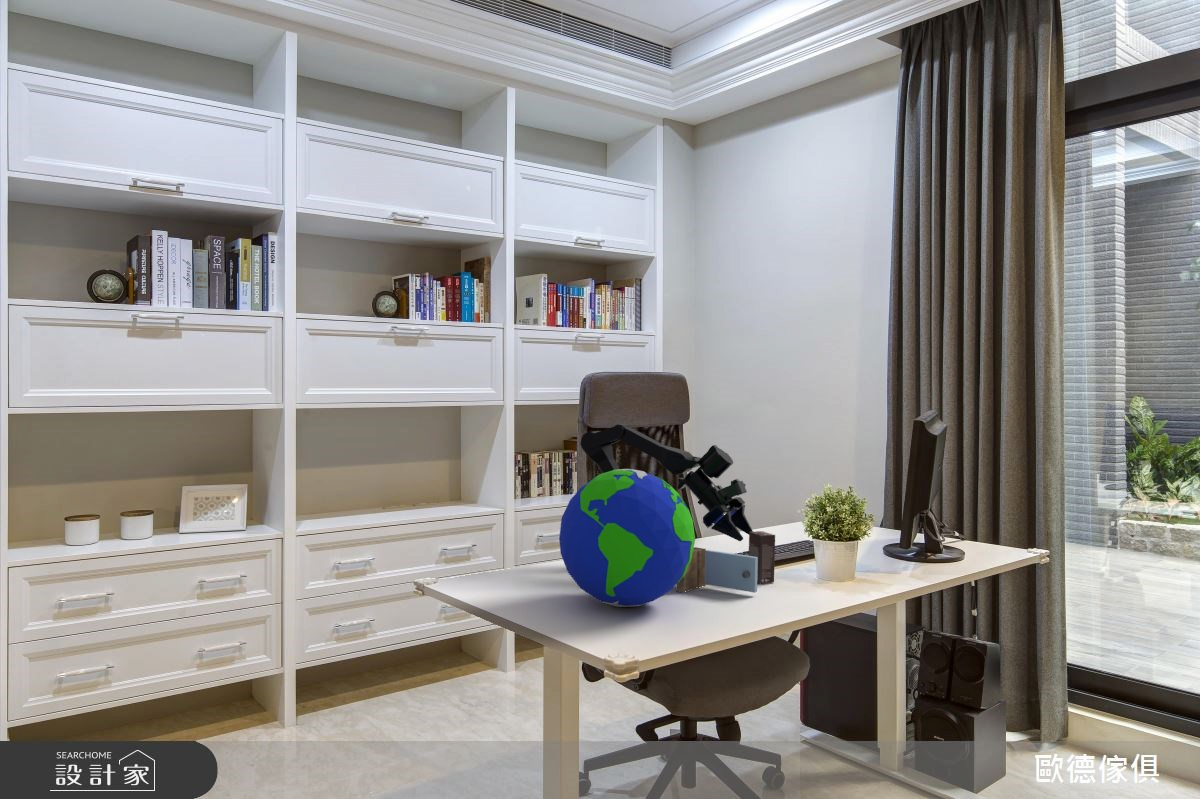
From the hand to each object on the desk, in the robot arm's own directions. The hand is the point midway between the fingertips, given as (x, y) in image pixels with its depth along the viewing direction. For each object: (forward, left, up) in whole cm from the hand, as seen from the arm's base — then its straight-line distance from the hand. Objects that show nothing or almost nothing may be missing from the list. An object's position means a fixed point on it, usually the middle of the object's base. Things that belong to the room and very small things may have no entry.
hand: (747, 537), depth 206 cm
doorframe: (-11, +6, -11) cm, 16 cm away
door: (-15, -3, -10) cm, 18 cm away
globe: (-39, +9, -11) cm, 42 cm away
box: (+1, -4, -11) cm, 11 cm away
